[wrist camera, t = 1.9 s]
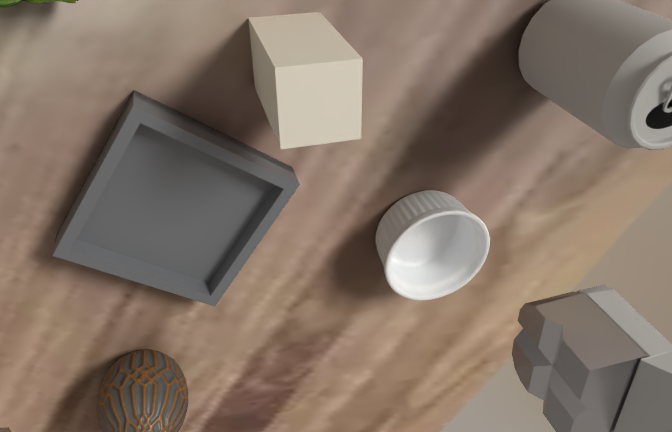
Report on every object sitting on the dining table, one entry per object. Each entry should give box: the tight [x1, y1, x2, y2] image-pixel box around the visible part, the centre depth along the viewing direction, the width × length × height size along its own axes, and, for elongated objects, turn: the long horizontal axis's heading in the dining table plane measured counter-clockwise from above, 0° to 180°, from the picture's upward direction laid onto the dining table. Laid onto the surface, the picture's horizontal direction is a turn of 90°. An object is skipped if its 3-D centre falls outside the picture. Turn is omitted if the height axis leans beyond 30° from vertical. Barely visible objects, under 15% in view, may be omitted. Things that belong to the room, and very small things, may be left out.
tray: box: [52, 91, 300, 306], centre depth 40 cm, size 12×12×2 cm
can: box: [519, 0, 672, 150], centre depth 37 cm, size 8×8×12 cm
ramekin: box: [375, 190, 490, 300], centre depth 47 cm, size 9×9×4 cm
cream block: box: [248, 12, 363, 149], centre depth 33 cm, size 4×4×9 cm
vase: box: [97, 350, 188, 432], centre depth 45 cm, size 7×7×9 cm
